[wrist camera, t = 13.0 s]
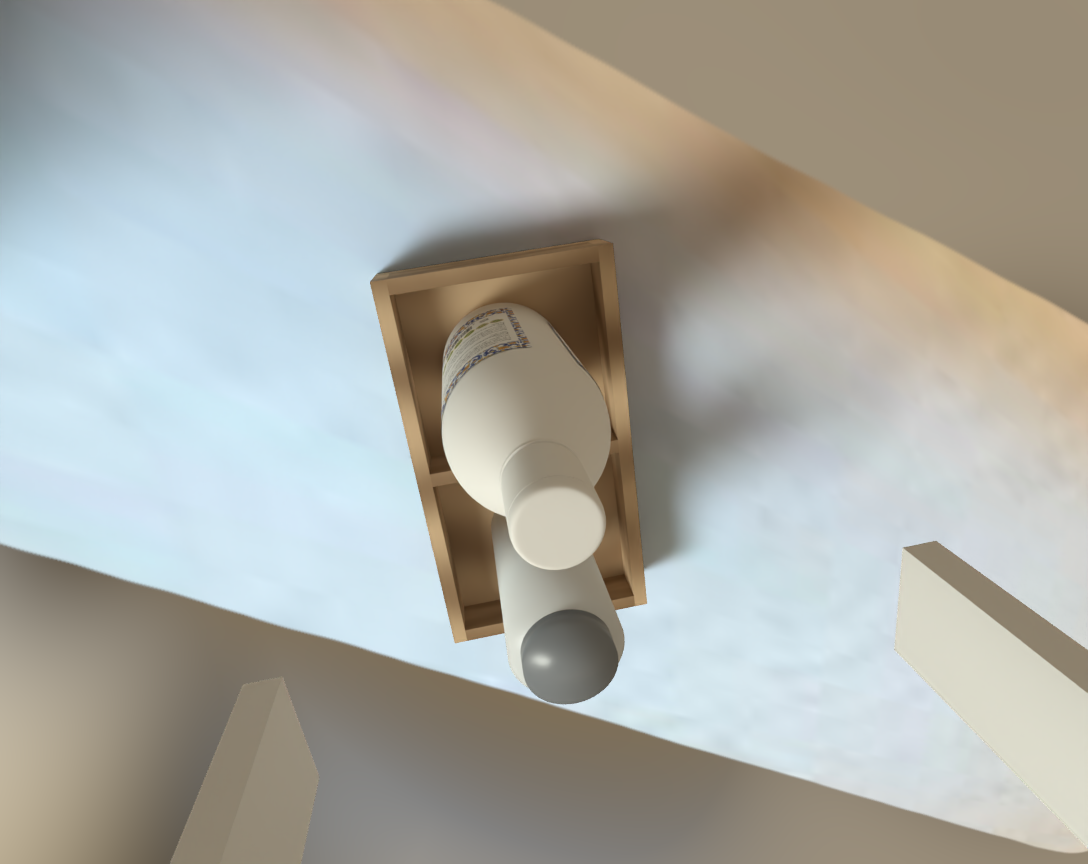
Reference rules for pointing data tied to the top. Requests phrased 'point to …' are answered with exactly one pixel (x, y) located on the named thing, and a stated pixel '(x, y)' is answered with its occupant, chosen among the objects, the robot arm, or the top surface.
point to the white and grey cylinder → (556, 624)
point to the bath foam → (526, 432)
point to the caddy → (416, 366)
